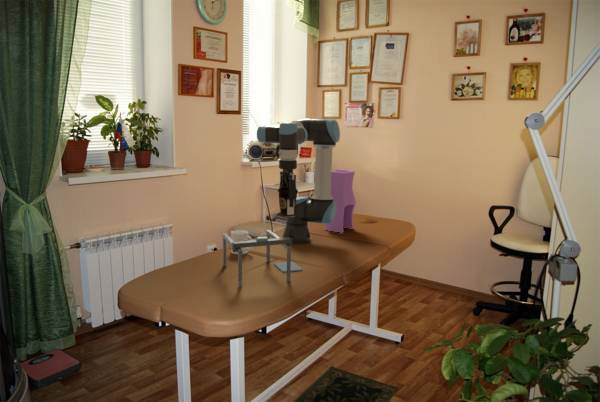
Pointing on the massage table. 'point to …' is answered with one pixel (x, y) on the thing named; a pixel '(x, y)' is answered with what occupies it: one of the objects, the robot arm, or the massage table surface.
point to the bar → (260, 242)
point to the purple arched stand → (342, 200)
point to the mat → (283, 267)
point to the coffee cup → (285, 201)
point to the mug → (241, 239)
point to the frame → (273, 235)
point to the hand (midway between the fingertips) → (287, 212)
